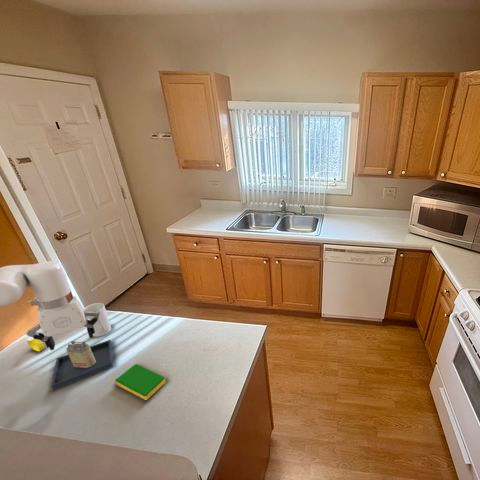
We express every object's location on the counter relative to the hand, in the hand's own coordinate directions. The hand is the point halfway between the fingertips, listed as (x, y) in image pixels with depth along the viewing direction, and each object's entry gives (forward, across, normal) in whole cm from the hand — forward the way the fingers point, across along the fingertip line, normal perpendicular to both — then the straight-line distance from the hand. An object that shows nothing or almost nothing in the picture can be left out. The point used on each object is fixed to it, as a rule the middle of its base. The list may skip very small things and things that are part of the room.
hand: (73, 341), depth 86 cm
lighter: (+11, +1, 0) cm, 11 cm away
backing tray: (+11, +1, 0) cm, 11 cm away
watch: (+12, -13, +18) cm, 25 cm away
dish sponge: (+11, +16, -20) cm, 28 cm away
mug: (+12, +6, +15) cm, 20 cm away
